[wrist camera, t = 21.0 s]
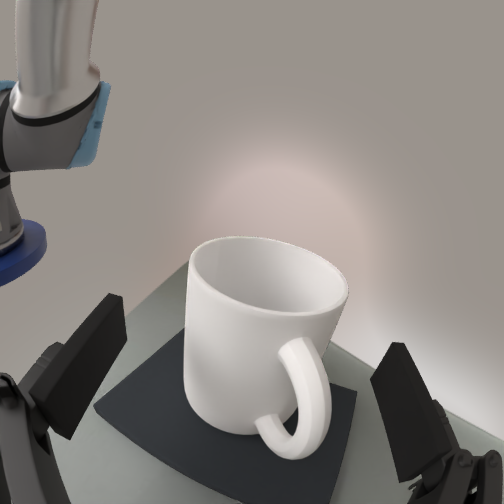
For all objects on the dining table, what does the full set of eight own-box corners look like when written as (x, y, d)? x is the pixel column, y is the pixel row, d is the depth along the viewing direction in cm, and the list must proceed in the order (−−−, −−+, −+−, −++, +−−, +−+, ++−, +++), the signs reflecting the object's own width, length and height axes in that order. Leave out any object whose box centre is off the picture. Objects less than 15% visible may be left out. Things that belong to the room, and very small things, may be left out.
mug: (338, 464, 13) (431, 355, 9) (209, 499, 10) (231, 413, 6) (273, 348, 23) (304, 238, 19) (176, 355, 20) (182, 232, 16)
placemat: (95, 412, 14) (92, 404, 14) (187, 331, 24) (188, 323, 24) (315, 525, 9) (322, 522, 9) (352, 398, 20) (357, 391, 19)
